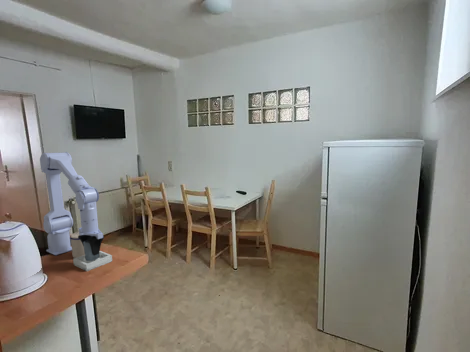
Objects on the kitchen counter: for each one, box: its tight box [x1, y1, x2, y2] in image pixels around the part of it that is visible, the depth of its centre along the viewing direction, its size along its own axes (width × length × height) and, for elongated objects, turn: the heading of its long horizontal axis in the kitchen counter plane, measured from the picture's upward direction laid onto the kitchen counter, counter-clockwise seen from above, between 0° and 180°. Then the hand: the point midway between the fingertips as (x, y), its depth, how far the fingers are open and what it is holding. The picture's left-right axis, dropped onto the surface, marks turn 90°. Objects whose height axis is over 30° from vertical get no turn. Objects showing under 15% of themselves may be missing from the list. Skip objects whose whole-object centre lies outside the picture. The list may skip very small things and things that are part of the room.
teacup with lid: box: [70, 230, 85, 259], centre depth 114 cm, size 12×9×12 cm
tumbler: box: [83, 240, 100, 261], centre depth 104 cm, size 5×5×7 cm
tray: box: [72, 250, 113, 272], centre depth 104 cm, size 10×10×2 cm
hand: (92, 252), depth 104 cm, fingers closed on tumbler, 5 cm apart
